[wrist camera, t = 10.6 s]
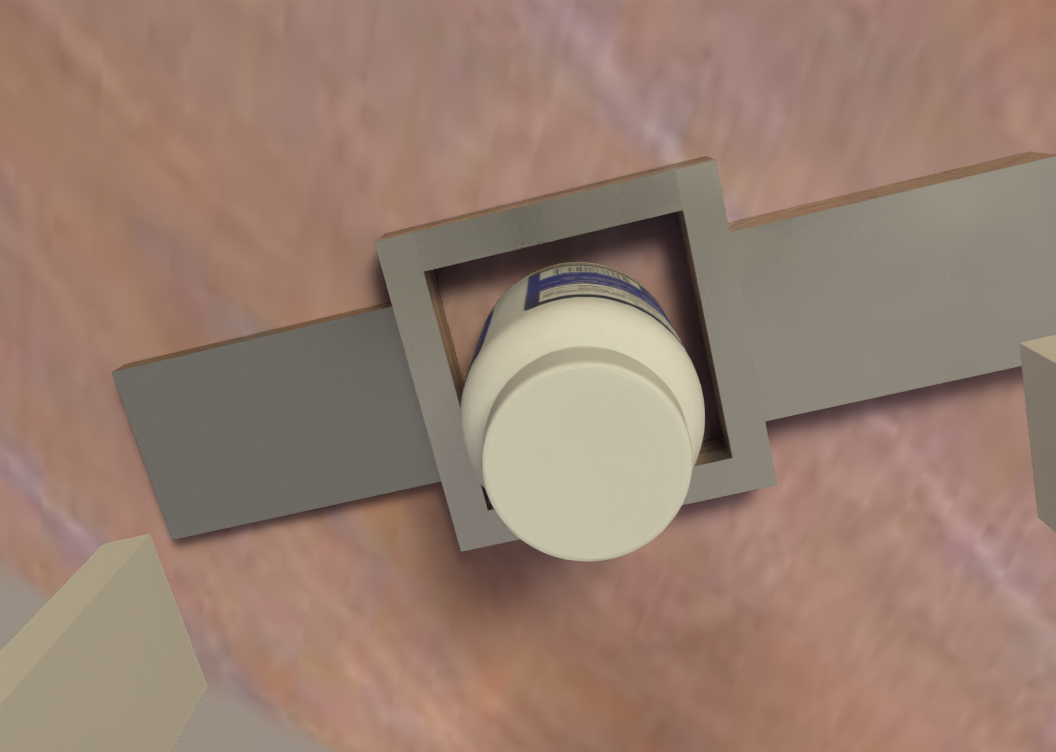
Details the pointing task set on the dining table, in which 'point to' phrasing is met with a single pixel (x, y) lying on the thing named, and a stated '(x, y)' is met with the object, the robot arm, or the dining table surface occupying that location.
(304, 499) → the square frame bracket
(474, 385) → the pill bottle
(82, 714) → the robot arm
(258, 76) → the dining table surface
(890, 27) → the dining table surface
